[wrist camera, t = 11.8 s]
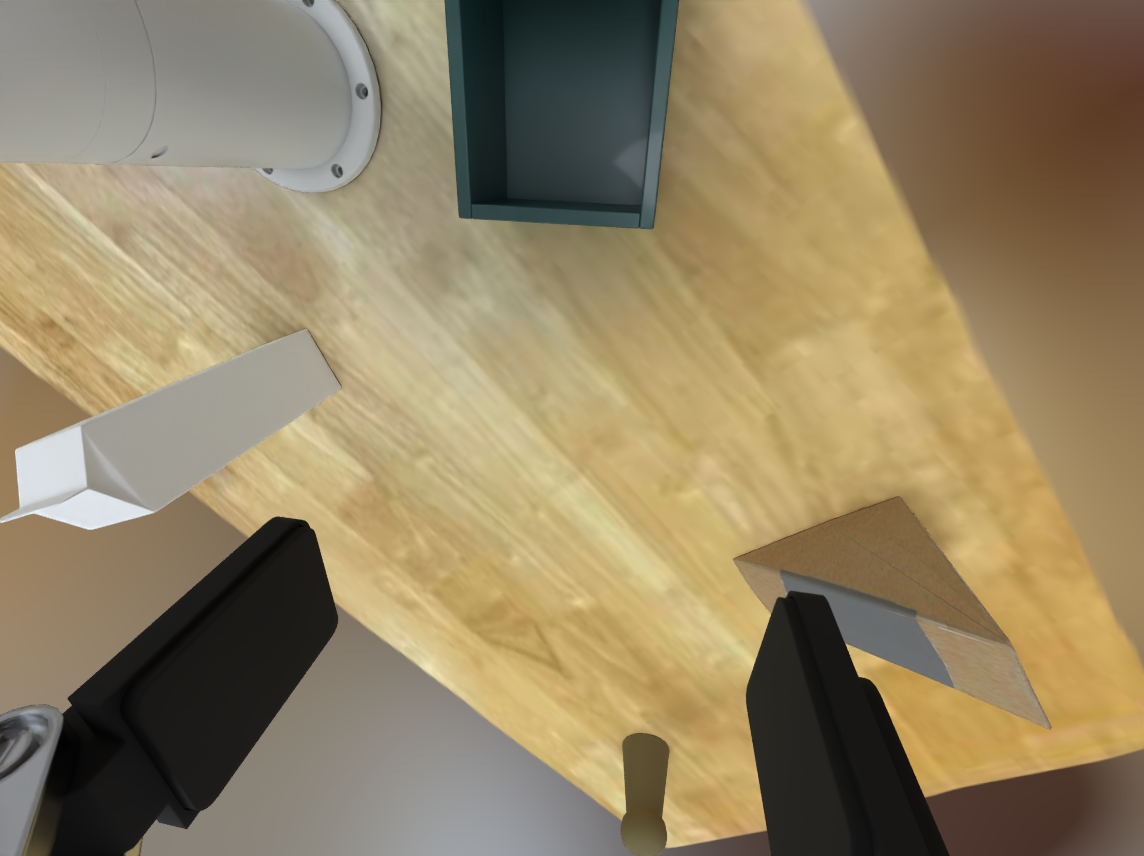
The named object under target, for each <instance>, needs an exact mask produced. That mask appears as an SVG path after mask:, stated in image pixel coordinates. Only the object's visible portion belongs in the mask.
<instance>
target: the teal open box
mask: <svg viewBox="0 0 1144 856" xmlns="http://www.w3.org/2000/svg"><path fill="white" fill-rule="evenodd" d="M678 5H679V0H445V14H446V29H447V44H448V59H449V74H450V90H451V105H452V120H453V135H454V150H455V166H456V181H457V196H458V211H459V218H465V219H482V220H499V221H517V222H534V223H551V224H568V225H586V226H603V227H620V228H637V229H638V228H640V229H653V228H654V221H655V212H656V203H657V194H658V185H659V176H660V167H661V158H662V149H663V140H664V131H665V122H666V113H667V104H668V95H669V86H670V77H671V68H672V59H673V50H674V41H675V32H676V23H677V14H678Z"/></svg>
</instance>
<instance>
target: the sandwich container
mask: <svg viewBox="0 0 1144 856" xmlns="http://www.w3.org/2000/svg"><path fill="white" fill-rule="evenodd" d="M733 561H734V562H735V564H736V566H737V567H738V569H739V570H740V572H741V573H742V575H743V577H744V578H745V580H746V581H747V583H748V585H749V586H750V588H751V589H752V590H753V592H754V593H755V594H756V595H757V597H758V598H759V599H760V601H761V602H762V603H763V604H764V606H765V607H766V608H767V609H768V611H769V612H770V613H771V614H772V611H773V608H774V605H775V602H776V600H777V598H778V597H784V598H786V596H787V594H788V592H789V591H798V592H805V593H812V594H819V595H824V596H825V597H826V598H827V600H828V602H829V604H830V607H831V609H832V612H833V614H834V617H835V619H836V622H837V624H838V627H839V629H840V632H841V634H842V637H843V640H844V642H845V643H846V644H848V645H851V646H853V647H856V648H858V649H861V650H863V651H865V652H868V653H870V654H872V655H875V656H877V657H880V658H882V659H884V660H887V661H889V662H892V663H894V664H897V665H899V666H902V667H904V668H907V669H909V670H911V671H914V672H916V673H919V674H921V675H924V676H926V677H928V678H931V679H933V680H935V681H938V682H940V683H942V684H945V685H947V686H949V687H952V688H954V689H956V690H959V691H961V692H963V693H966V694H968V695H970V696H972V697H975V698H977V699H979V700H982V701H984V702H986V703H989V704H991V705H993V706H996V707H998V708H1000V709H1003V710H1005V711H1007V712H1010V713H1012V714H1014V715H1017V716H1019V717H1021V718H1024V719H1026V720H1028V721H1031V722H1033V723H1035V724H1038V725H1040V726H1042V727H1044V728H1047V729H1049V730H1051V728H1052V727H1051V724H1050V722H1049V720H1048V718H1047V716H1046V714H1045V712H1044V711H1043V709H1042V707H1041V705H1040V703H1039V701H1038V699H1037V697H1036V695H1035V693H1034V691H1033V689H1032V687H1031V684H1030V682H1029V680H1028V678H1027V676H1026V673H1025V671H1024V669H1023V667H1022V664H1021V662H1020V660H1019V658H1018V656H1017V653H1016V651H1015V649H1014V647H1013V646H1012V644H1011V642H1010V641H1009V639H1008V638H1007V637H1006V635H1005V634H1004V633H1003V631H1002V630H1001V629H1000V627H999V626H998V625H997V623H996V622H995V621H994V619H993V618H992V617H991V616H990V614H989V613H988V612H987V610H986V609H985V608H984V606H983V605H982V604H981V602H980V601H979V600H978V598H977V597H976V596H975V594H974V593H973V592H972V590H971V589H970V588H969V587H968V585H967V584H966V583H965V581H964V580H963V579H962V577H961V576H960V575H959V573H958V572H957V571H956V569H955V568H954V567H953V565H952V564H951V563H950V562H949V560H948V559H947V558H946V556H945V555H944V554H943V552H942V551H941V550H940V548H939V547H938V546H937V544H936V543H935V542H934V540H933V539H932V538H931V537H930V535H929V534H928V533H927V531H926V530H925V529H924V527H923V526H922V525H921V523H920V522H919V521H918V520H917V518H916V517H915V516H914V514H913V513H912V512H911V510H910V509H909V508H908V506H907V505H906V504H905V503H904V501H903V500H902V499H901V497H896V498H893V499H890V500H887V501H884V502H882V503H879V504H876V505H873V506H870V507H867V508H865V509H862V510H859V511H856V512H853V513H850V514H848V515H845V516H842V517H839V518H836V519H833V520H831V521H828V522H825V523H823V524H820V525H818V526H815V527H813V528H810V529H808V530H805V531H802V532H800V533H797V534H795V535H792V536H790V537H787V538H785V539H782V540H780V541H777V542H775V543H772V544H770V545H767V546H765V547H762V548H760V549H757V550H755V551H752V552H750V553H747V554H745V555H742V556H740V557H737V558H735V559H733Z"/></svg>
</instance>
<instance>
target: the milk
mask: <svg viewBox="0 0 1144 856" xmlns="http://www.w3.org/2000/svg"><path fill="white" fill-rule="evenodd" d="M340 389H341V386H340V384H339V383H338V381H337V379H336V378H335V376H334V374H333V372H332V371H331V369H330V367H329V366H328V364H327V362H326V361H325V359H324V357H323V355H322V354H321V352H320V350H319V349H318V347H317V345H316V344H315V342H314V340H313V338H312V337H311V335H310V333H309V332H308V330H307V329H304V330H301V331H298V332H296V333H293V334H290V335H288V336H285V337H283V338H280V339H277V340H275V341H272V342H270V343H267V344H264V345H262V346H259V347H257V348H254V349H252V350H249V351H247V352H245V353H242V354H240V355H238V356H235V357H233V358H231V359H228V360H226V361H223V362H221V363H219V364H216V365H214V366H212V367H209V368H207V369H204V370H202V371H200V372H197V373H195V374H193V375H190V376H188V377H185V378H183V379H181V380H178V381H176V382H174V383H171V384H169V385H167V386H164V387H162V388H159V389H157V390H155V391H152V392H150V393H148V394H145V395H143V396H140V397H138V398H136V399H133V400H131V401H129V402H126V403H124V404H121V405H119V406H117V407H114V408H112V409H110V410H107V411H105V412H103V413H100V414H98V415H95V416H93V417H91V418H89V419H86V420H84V421H81V422H79V423H76V424H74V425H72V426H69V427H67V428H65V429H62V430H60V431H57V432H55V433H53V434H50V435H48V436H46V437H43V438H41V439H39V440H36V441H34V442H32V443H29V444H27V445H25V446H22V447H20V448H18V449H16V451H15V454H16V466H17V478H18V489H19V501H20V508H19V509H17V510H15V511H14V512H12V513H10V514H8V515H6V516H4V517H2V518H0V523H3V522H6V521H9V520H13V519H16V518H19V517H23V516H26V515H29V514H33V513H34V514H38V515H41V516H45V517H48V518H51V519H55V520H58V521H61V522H65V523H68V524H71V525H75V526H78V527H82V528H85V529H89V530H92V529H96V528H100V527H104V526H107V525H111V524H115V523H118V522H122V521H126V520H130V519H133V518H137V517H141V516H144V515H148V514H152V513H155V512H157V511H158V510H160V509H161V508H163V507H164V506H166V505H167V504H169V503H170V502H172V501H173V500H175V499H176V498H178V497H179V496H180V495H182V494H184V493H185V492H187V491H188V490H190V489H191V488H193V487H194V486H196V485H197V484H199V483H200V482H202V481H203V480H205V479H206V478H208V477H209V476H211V475H212V474H214V473H215V472H217V471H218V470H220V469H221V468H223V467H224V466H226V465H227V464H229V463H230V462H232V461H233V460H235V459H236V458H238V457H240V456H241V455H243V454H244V453H246V452H247V451H249V450H250V449H252V448H253V447H255V446H256V445H258V444H259V443H261V442H262V441H264V440H265V439H267V438H268V437H270V436H271V435H273V434H274V433H276V432H277V431H279V430H280V429H282V428H283V427H285V426H286V425H288V424H289V423H291V422H292V421H294V420H295V419H297V418H298V417H300V416H301V415H303V414H304V413H306V412H307V411H309V410H310V409H312V408H313V407H315V406H316V405H318V404H319V403H321V402H322V401H324V400H325V399H327V398H328V397H330V396H331V395H333V394H334V393H336V392H337V391H339V390H340Z"/></svg>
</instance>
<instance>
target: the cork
mask: <svg viewBox="0 0 1144 856" xmlns="http://www.w3.org/2000/svg"><path fill="white" fill-rule="evenodd" d="M668 758H669V747H668V745H667V744H666V743H665V742H664V741H663V740H662V739H660V738H658V737H656V736H653V735H649V734H633V735H630V736H628V737H626V738H625V740H624V741H623V762H624V779H625V796H626V814H625V815H624V816H623V820H622V824H621V838H622V841H623V843H624V846H625V847H626V848H627V849H628V850H629V851H631V852H632V853H633V854H636V855H638V856H657V855H659V854H661V853H662V852H663V850H664V848H665V846H666V842H667V831H666V826H665V823H664V821H663V819H662V813H663V803H664V794H665V785H666V776H667V767H668Z"/></svg>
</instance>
